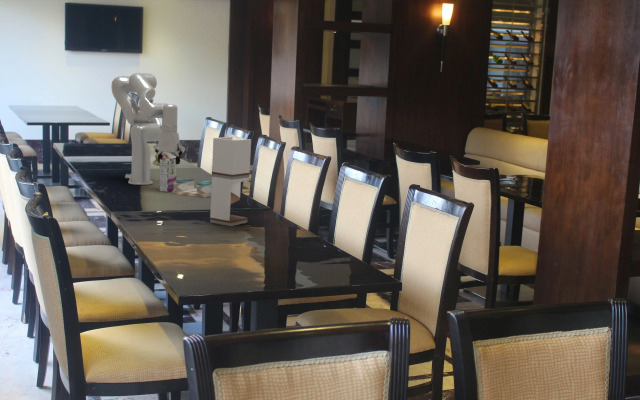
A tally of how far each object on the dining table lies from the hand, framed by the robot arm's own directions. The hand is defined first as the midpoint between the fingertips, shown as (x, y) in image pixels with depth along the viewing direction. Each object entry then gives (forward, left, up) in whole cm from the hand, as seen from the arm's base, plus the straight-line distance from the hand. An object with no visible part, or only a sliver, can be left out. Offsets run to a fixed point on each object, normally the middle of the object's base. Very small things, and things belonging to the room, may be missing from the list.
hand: (169, 163), depth 402 cm
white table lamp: (+59, -57, -14) cm, 83 cm away
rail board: (+15, -1, -14) cm, 21 cm away
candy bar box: (-1, 0, -14) cm, 14 cm away
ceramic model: (-52, +88, -14) cm, 103 cm away
